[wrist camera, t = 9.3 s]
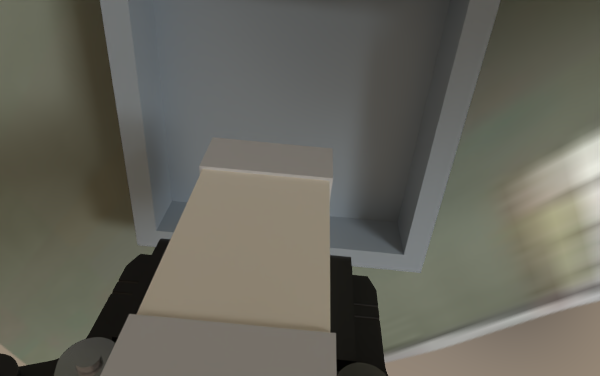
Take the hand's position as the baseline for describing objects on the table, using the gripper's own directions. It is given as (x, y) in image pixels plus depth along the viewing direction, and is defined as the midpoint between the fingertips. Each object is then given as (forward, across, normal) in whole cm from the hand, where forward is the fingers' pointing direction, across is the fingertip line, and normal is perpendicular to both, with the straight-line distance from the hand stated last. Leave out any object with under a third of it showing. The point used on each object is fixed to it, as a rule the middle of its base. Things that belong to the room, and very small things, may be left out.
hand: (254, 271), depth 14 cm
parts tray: (+14, 0, 0) cm, 14 cm away
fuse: (+4, 0, 0) cm, 4 cm away
